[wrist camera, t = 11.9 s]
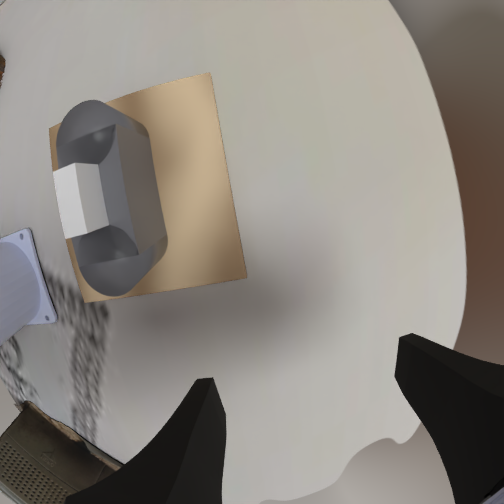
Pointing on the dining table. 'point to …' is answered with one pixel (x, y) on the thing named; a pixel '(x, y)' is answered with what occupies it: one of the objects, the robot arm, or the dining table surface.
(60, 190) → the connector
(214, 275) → the oak board
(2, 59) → the burger
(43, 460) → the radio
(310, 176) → the dining table surface
